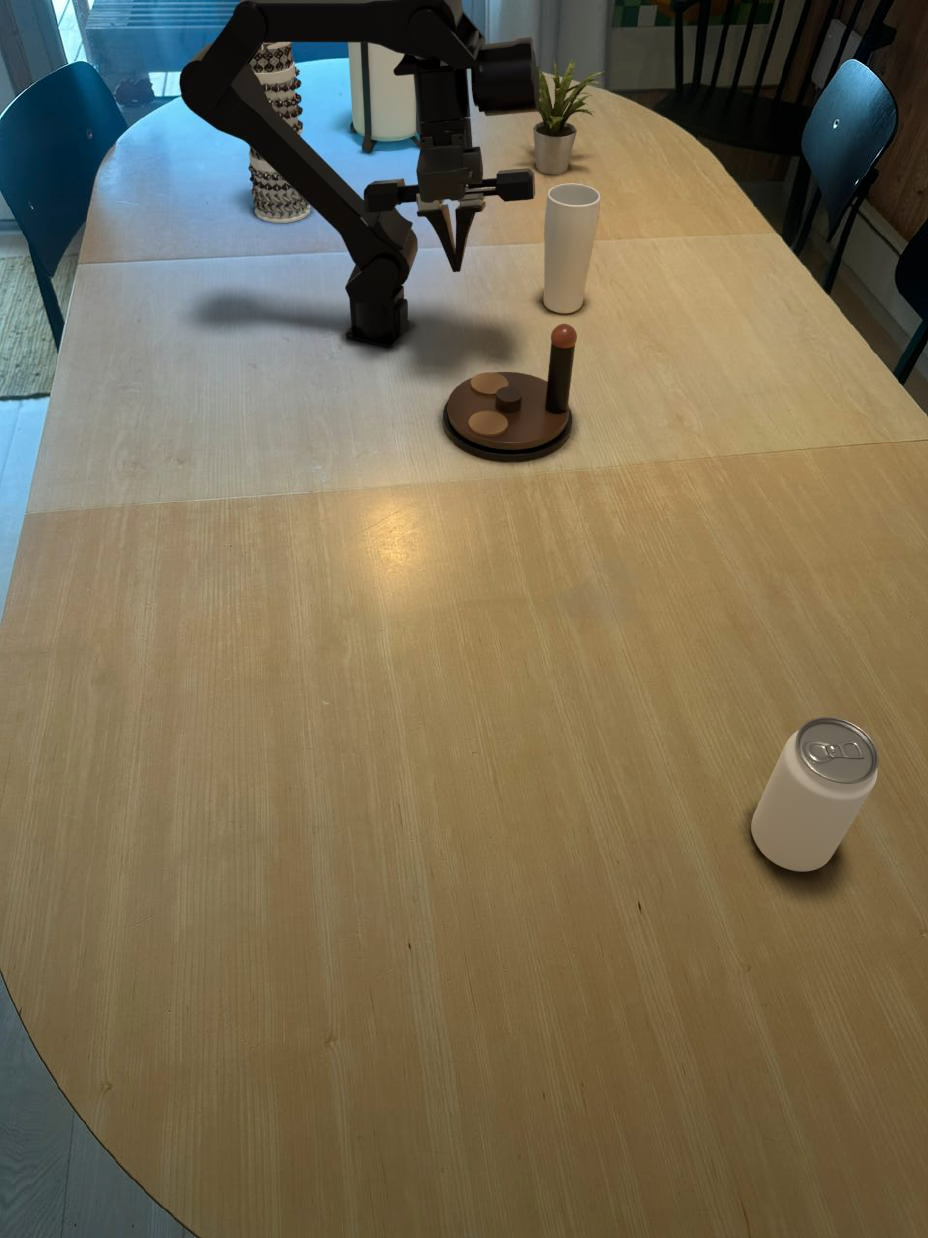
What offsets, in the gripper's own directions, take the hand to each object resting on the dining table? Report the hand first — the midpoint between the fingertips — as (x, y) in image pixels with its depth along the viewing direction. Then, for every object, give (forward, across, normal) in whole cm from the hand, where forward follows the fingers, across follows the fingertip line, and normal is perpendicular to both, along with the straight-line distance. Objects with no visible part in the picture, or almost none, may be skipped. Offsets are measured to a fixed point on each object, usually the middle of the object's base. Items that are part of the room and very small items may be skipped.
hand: (456, 271), depth 112 cm
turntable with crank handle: (+15, +5, -8) cm, 17 cm away
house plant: (-5, +10, +60) cm, 61 cm away
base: (+16, +5, -7) cm, 18 cm away
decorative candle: (-4, -31, +40) cm, 51 cm away
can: (+35, +30, -56) cm, 73 cm away
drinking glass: (+9, +12, +19) cm, 24 cm away
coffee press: (-12, -18, +69) cm, 73 cm away
